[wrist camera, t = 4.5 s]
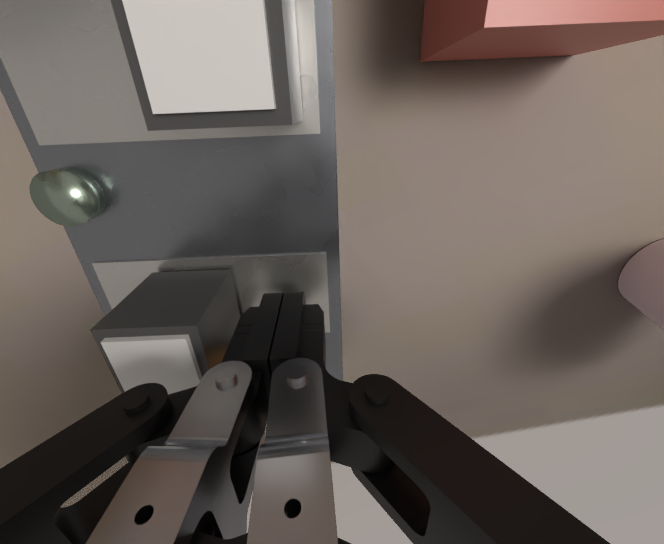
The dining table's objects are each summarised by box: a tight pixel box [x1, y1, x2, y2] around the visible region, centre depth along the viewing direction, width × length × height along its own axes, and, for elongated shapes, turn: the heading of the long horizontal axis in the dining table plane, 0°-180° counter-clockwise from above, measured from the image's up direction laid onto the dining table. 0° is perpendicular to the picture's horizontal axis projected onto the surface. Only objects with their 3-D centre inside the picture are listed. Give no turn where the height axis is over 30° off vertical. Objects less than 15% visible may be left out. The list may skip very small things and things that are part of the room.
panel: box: [0, 0, 343, 381], centre depth 12 cm, size 10×18×3 cm, turn 2°
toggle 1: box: [111, 0, 303, 131], centre depth 7 cm, size 3×3×4 cm
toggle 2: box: [91, 269, 240, 394], centre depth 11 cm, size 3×3×4 cm
